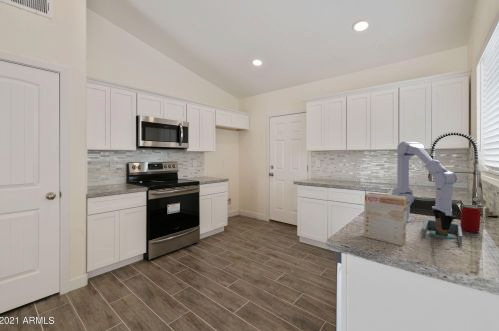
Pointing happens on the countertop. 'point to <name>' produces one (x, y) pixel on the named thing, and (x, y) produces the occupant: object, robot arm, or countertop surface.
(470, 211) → the beverage can
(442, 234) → the walnut cylinder
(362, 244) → the countertop surface
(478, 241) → the countertop surface
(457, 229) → the grey angular frame piece
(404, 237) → the coffeecake box
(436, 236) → the pad
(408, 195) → the robot arm
